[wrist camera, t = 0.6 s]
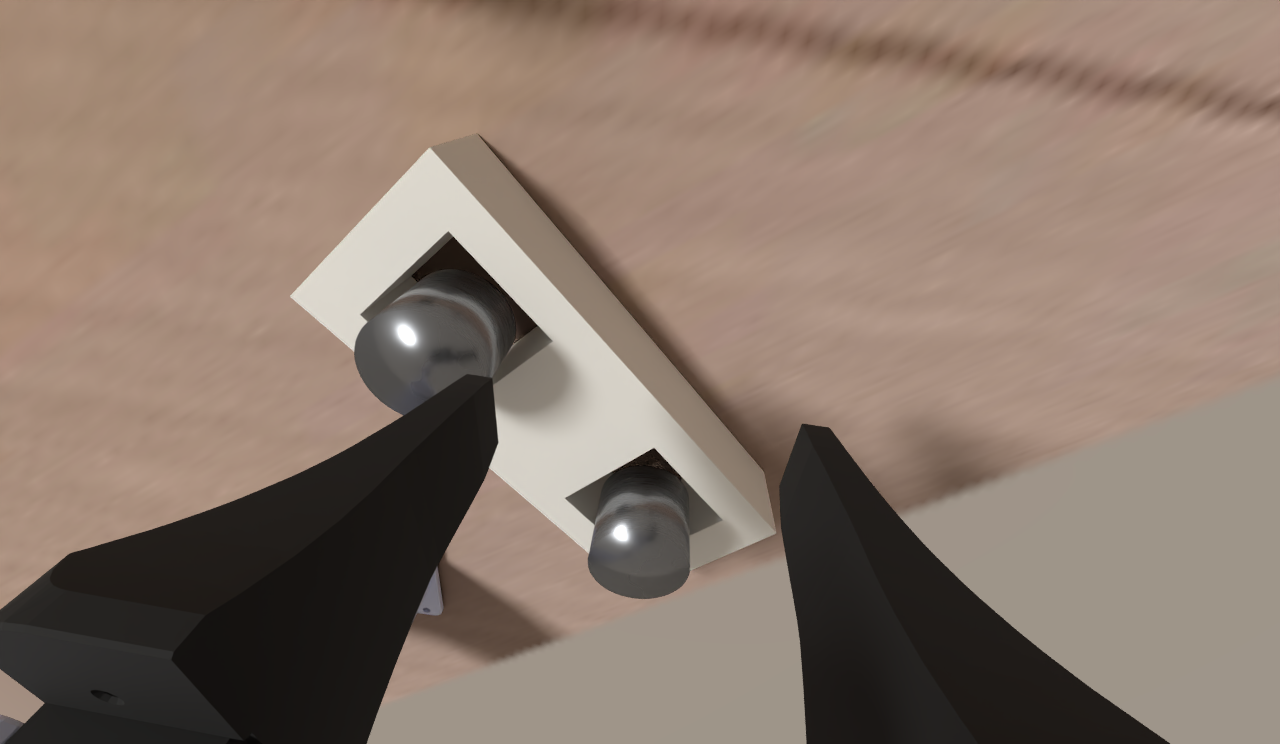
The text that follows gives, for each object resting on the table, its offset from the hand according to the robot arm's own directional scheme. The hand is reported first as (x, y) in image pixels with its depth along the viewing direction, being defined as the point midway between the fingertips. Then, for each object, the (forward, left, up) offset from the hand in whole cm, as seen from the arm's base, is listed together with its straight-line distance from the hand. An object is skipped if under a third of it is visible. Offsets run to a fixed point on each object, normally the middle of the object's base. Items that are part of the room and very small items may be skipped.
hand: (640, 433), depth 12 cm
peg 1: (-7, -1, -7) cm, 10 cm away
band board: (-3, -5, -11) cm, 12 cm away
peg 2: (+1, -9, -7) cm, 12 cm away
